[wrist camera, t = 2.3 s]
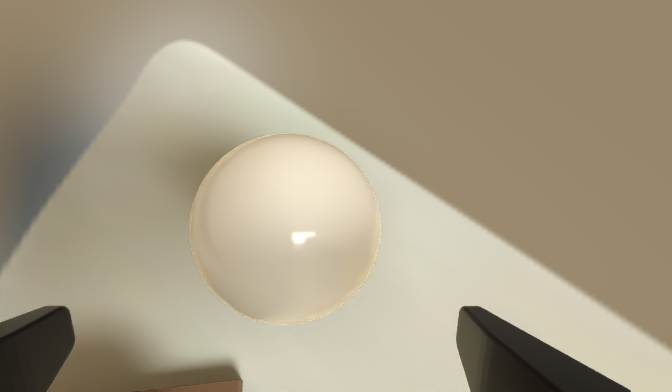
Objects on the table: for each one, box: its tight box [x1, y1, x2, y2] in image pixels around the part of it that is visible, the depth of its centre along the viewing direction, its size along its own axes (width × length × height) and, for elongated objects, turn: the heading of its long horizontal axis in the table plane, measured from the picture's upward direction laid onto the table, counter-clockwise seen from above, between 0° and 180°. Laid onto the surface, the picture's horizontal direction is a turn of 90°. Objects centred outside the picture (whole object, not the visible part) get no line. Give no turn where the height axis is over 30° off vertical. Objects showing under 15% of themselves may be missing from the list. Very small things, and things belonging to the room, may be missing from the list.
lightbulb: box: [189, 133, 381, 324], centre depth 15 cm, size 6×6×11 cm
